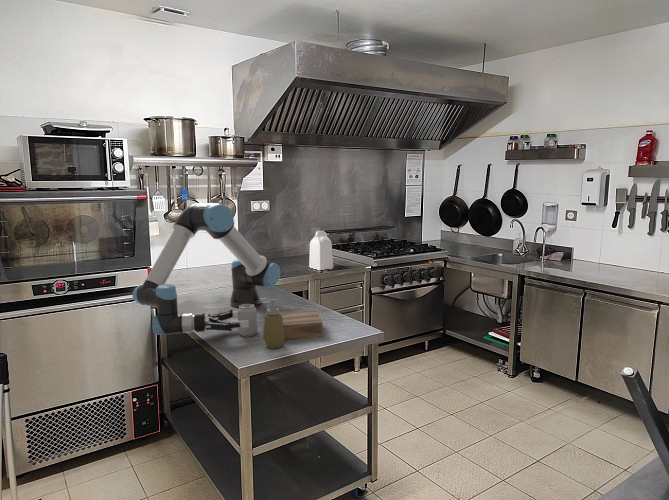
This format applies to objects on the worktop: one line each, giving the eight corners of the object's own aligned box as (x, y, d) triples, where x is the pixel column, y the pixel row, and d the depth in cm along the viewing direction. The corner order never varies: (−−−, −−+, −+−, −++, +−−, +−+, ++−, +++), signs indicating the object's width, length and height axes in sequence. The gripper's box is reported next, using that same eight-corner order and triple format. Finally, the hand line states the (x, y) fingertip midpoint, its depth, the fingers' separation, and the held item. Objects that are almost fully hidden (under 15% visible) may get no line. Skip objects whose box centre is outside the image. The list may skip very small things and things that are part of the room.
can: (258, 330, 199) (257, 302, 197) (256, 336, 191) (254, 307, 189) (240, 331, 198) (238, 303, 196) (237, 337, 191) (235, 308, 189)
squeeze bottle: (273, 351, 174) (271, 303, 171) (259, 346, 179) (256, 300, 177) (289, 345, 180) (287, 299, 177) (275, 341, 185) (273, 296, 183)
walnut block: (274, 326, 203) (273, 312, 203) (316, 323, 207) (315, 309, 206) (277, 340, 186) (276, 325, 185) (322, 336, 189) (322, 322, 188)
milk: (322, 266, 334) (321, 229, 330) (333, 268, 326) (332, 230, 322) (309, 269, 326) (307, 231, 322) (320, 271, 318) (319, 232, 314)
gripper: (198, 322, 203) (249, 318, 206) (191, 342, 178) (249, 337, 182) (196, 305, 201) (248, 301, 205) (190, 322, 177) (248, 318, 181)
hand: (248, 318), depth 193 cm, fingers open, 13 cm apart
